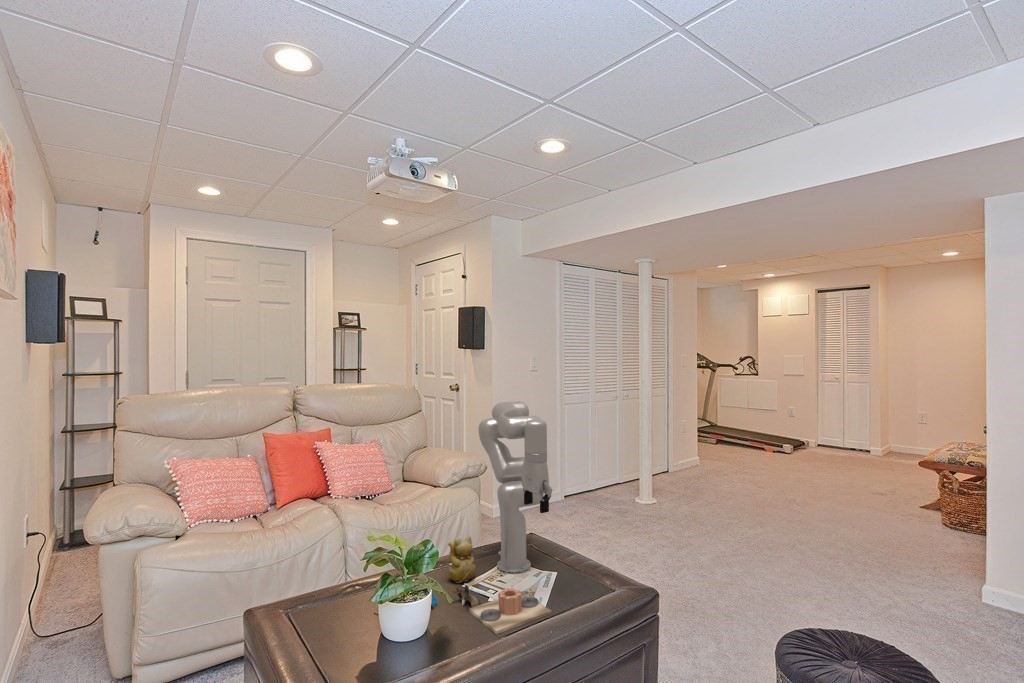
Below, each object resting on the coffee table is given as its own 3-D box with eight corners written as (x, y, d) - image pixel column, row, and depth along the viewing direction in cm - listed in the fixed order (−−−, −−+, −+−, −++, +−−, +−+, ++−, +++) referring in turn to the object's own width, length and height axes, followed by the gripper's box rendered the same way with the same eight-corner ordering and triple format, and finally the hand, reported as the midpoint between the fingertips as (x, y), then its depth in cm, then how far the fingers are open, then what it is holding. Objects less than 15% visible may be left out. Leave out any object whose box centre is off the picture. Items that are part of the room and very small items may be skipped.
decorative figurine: (470, 572, 193) (469, 531, 193) (480, 581, 185) (479, 538, 186) (446, 579, 188) (445, 537, 188) (455, 588, 181) (454, 544, 181)
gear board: (469, 611, 164) (469, 596, 164) (522, 594, 175) (521, 580, 175) (496, 634, 151) (495, 618, 151) (551, 613, 162) (551, 598, 162)
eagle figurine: (446, 602, 168) (465, 605, 162) (453, 578, 172) (472, 581, 166) (463, 608, 172) (482, 611, 166) (469, 585, 176) (488, 587, 170)
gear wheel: (494, 608, 164) (494, 592, 164) (513, 602, 168) (513, 586, 168) (506, 617, 158) (506, 601, 158) (525, 611, 162) (525, 594, 162)
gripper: (512, 453, 181) (513, 502, 181) (540, 464, 166) (541, 518, 166) (531, 450, 185) (531, 499, 185) (560, 461, 170) (560, 513, 170)
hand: (536, 508), depth 176 cm, fingers open, 9 cm apart
